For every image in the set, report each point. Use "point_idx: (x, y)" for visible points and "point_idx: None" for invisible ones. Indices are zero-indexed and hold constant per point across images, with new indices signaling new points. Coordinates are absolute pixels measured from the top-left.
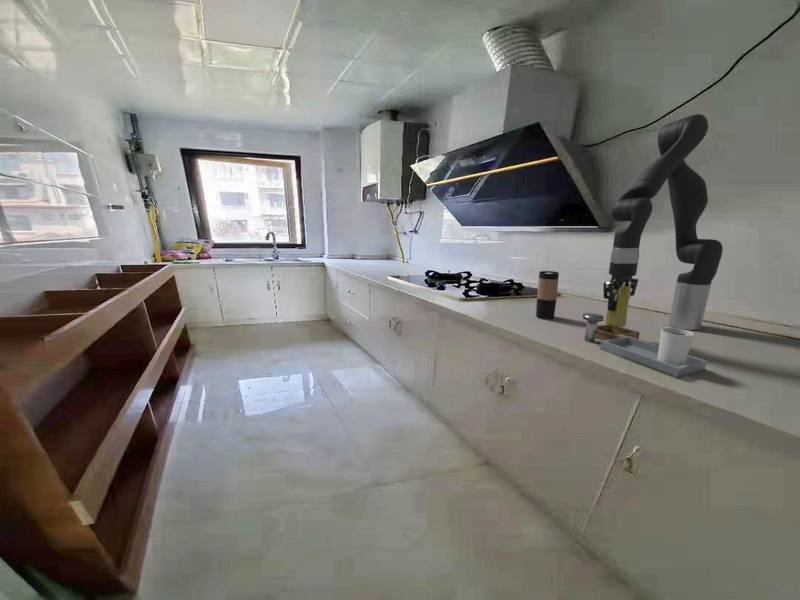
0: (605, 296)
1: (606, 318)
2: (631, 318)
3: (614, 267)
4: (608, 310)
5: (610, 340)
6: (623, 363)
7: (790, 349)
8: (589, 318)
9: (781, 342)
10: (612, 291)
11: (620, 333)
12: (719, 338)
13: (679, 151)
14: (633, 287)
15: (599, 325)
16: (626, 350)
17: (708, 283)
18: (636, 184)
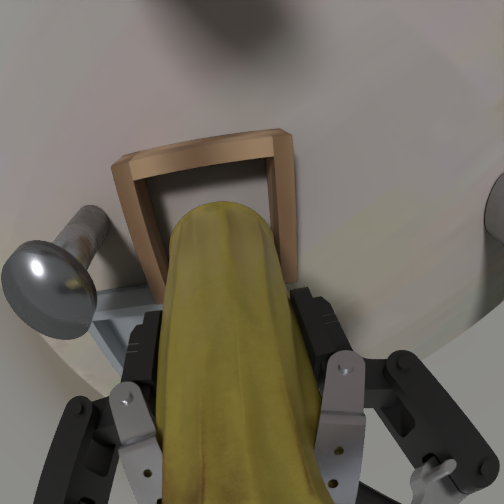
0: (74, 421)
1: (180, 239)
2: (486, 80)
3: None
4: (164, 295)
5: (110, 317)
6: (99, 359)
7: (463, 331)
8: (21, 313)
9: (488, 308)
10: (104, 487)
11: (271, 207)
12: (464, 283)
13: None
14: (403, 451)
15: (199, 155)
16: (114, 367)
17: None
18: None
